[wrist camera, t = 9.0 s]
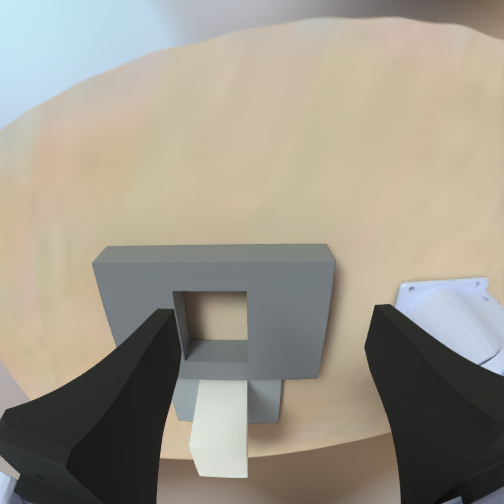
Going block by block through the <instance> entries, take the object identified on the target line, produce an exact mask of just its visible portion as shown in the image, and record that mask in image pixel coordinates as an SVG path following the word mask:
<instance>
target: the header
mask: <svg viewBox="0 0 504 504" xmlns="http://www.w3.org/2000/svg"><path fill="white" fill-rule="evenodd" d="M92 265H93V269H94V273H95V277H96V281H97V285H98V288H99V292H100V296H101V299H102V302H103V306H104V309H105V313H106V316H107V319H108V322H109V325H110V329H111V332H112V335H113V338H114V341H115V343H116V346H117V347H118V346H119V345H120V344H122V343H123V342H124V341H125V340H126V339H127V338H128V337H129V336H130V335H131V334H132V333H133V332H134V331H135V330H136V329H137V328H138V327H139V326H140V325H141V324H142V323H143V322H144V321H145V320H146V319H147V318H148V317H149V316H150V315H151V314H152V313H154V312H155V311H156V310H157V309H158V308H162V309H174V311H175V317H176V323H177V328H178V333H179V338H180V344H181V349H182V355H181V363H180V369H179V375H178V378H180V379H199V380H240V381H250V380H291V379H310V378H318V372H319V367H320V361H321V356H322V350H323V344H324V338H325V332H326V326H327V320H328V313H329V306H330V299H331V292H332V284H333V276H334V268H335V259H334V257H333V256H332V254H331V252H330V250H329V248H328V246H327V244H253V245H172V246H111V247H106V248H105V249H104V250H103V251H102V252H101V253H100V255H99V256H98V257H97V258H96V259H95V260H94V261H93V262H92ZM183 291H247V323H248V340H190V336H189V330H188V324H187V317H186V311H185V304H184V297H183Z"/></svg>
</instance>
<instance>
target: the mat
mask: <svg viewBox="0 0 504 504" xmlns="http://www.w3.org/2000/svg"><path fill="white" fill-rule="evenodd" d="M199 382H200V380H199V379H180V378H178V379H177V383H176V386H175V390H174V394H173V397H172V401H173V405H174V408H175V411H176V414H177V417H178V420H179V421H191V422H193V419H194V412H195V406H196V400H197V394H198V388H199ZM281 383H282V380H250V381H247V389H248V423H278V417H279V406H280V395H281Z"/></svg>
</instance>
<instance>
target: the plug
mask: <svg viewBox="0 0 504 504" xmlns="http://www.w3.org/2000/svg"><path fill="white" fill-rule="evenodd" d="M189 448H190V451H191V454H192V457H193V459H194V462H195V465H196V468H197V470H198V473H199V475H200V476H210V477H231V478H248V389H247V381H240V380H200V382H199V388H198V394H197V400H196V406H195V412H194V419H193V425H192V432H191V438H190V445H189Z"/></svg>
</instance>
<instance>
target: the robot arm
mask: <svg viewBox="0 0 504 504" xmlns="http://www.w3.org/2000/svg"><path fill="white" fill-rule="evenodd" d="M487 285H488V279H487V278H486V277H479V278H465V279H450V280H434V281H417V282H404V283H402V284H401V285H400V286H399V289H398V293H397V297H396V301H395V305H394V307H393V306H392V305H390V304H384V305H375V307H374V311H373V315H372V319H371V323H370V327H369V331H368V335H367V339H366V343H365V347H364V348H365V352H366V356H367V361H368V365H369V369H370V372H371V374H372V377H373V380H374V382H375V385H376V387H377V390H378V393H379V395H380V398H381V400H382V403H383V406H384V408H385V411H386V414H387V417H388V420H389V423H390V427H391V431H392V436H393V441H394V445H395V451H396V457H397V463H398V471H399V480H400V491H401V492H400V493H401V504H504V307H503V306H502V305H501V304H500V303H499V302H498V301H497V300H496V299H495V298H494V297H493V296H492V295H491V294H490V293H489V292H488V291H487V290H486V288H487ZM411 287H412V289H411V290H409V288H411ZM181 355H182V349H181V344H180V338H179V333H178V328H177V323H176V317H175V311H174V309H162V308H158V309H157V310H156V311H155V312H154V313H152V314H151V315H150V316H149V317H148V318H147V319H146V320H145V321H144V322H143V323H142V324H141V325H140V326H139V327H138V328H137V329H136V330H135V331H134V332H133V333H132V334H131V335H130V336H129V337H128V338H127V339H126V340H125V341H124V342H123V343H122V344H120V345H119V346H118V347H117V348H116V349H115V350H113V351H112V352H111V353H110V354H109V355H108V356H107V357H105V358H104V359H103V360H102V361H100V362H99V363H98V364H96V365H95V366H94V367H92V368H91V369H89V370H88V371H87V372H85V373H84V374H82V375H81V376H79V377H77V378H76V379H74V380H72V381H71V382H69V383H67V384H65V385H64V386H62V387H60V388H58V389H56V390H54V391H52V392H50V393H48V394H46V395H44V396H42V397H40V398H37V399H35V400H32V401H30V402H27V403H24V404H21V405H19V406H16V407H13V408H9V409H6V410H5V412H4V414H3V416H2V418H1V419H0V455H1V456H2V457H3V458H4V459H5V460H6V461H7V462H8V463H9V464H10V465H11V466H12V467H13V468H14V469H15V470H16V471H18V472H19V473H20V474H21V475H20V477H19V479H18V480H16V479H15V478H13V477H12V476H10V475H8V474H6V473H5V472H2V471H1V470H0V504H156V497H157V481H158V469H159V460H160V451H161V444H162V437H163V431H164V427H165V422H166V419H167V415H168V411H169V408H170V404H171V401H172V397H173V394H174V390H175V386H176V383H177V379H178V375H179V369H180V363H181Z"/></svg>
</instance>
